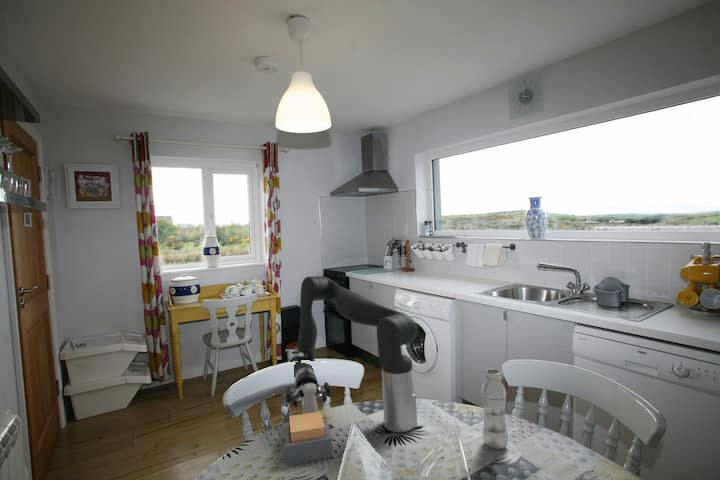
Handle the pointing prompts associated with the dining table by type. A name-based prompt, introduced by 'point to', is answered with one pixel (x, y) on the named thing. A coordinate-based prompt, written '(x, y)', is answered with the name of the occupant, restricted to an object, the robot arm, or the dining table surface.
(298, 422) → the orange block
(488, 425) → the plastic bottle
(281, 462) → the dining table surface
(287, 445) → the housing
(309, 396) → the salt shaker
